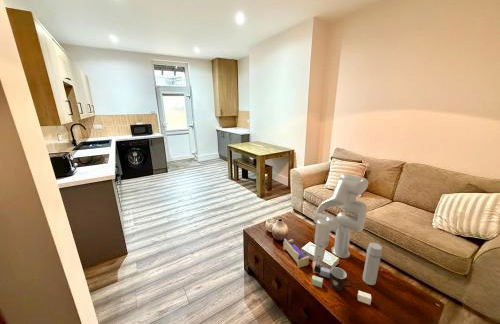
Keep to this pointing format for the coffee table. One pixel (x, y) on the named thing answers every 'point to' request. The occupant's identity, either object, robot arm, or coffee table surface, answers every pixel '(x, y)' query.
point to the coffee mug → (338, 279)
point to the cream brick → (364, 297)
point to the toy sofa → (295, 253)
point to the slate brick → (325, 272)
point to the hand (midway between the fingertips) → (318, 266)
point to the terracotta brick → (314, 266)
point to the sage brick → (317, 281)
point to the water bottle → (372, 263)
